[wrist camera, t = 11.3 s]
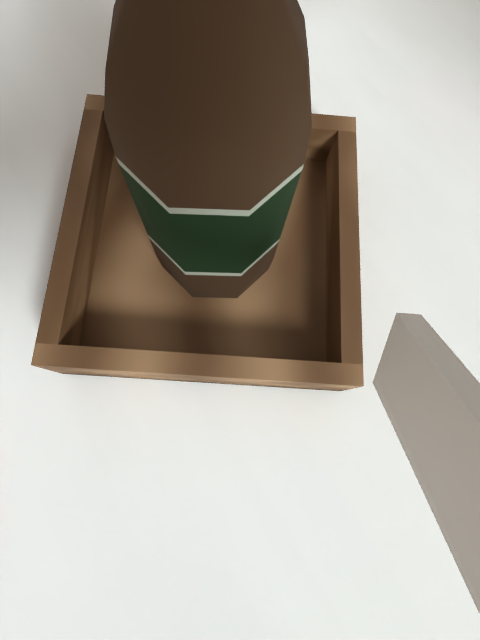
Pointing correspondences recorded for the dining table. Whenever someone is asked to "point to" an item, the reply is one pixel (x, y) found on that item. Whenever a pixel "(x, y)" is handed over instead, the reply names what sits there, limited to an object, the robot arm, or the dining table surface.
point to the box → (204, 312)
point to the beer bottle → (210, 130)
